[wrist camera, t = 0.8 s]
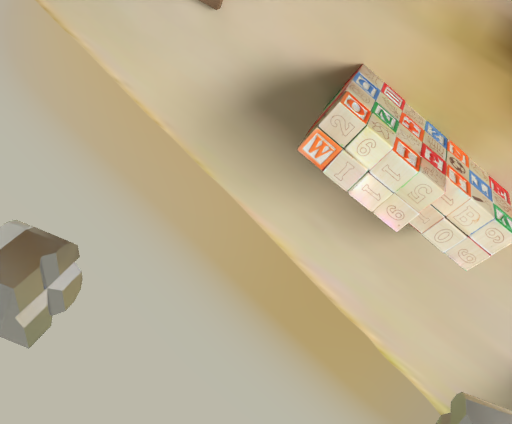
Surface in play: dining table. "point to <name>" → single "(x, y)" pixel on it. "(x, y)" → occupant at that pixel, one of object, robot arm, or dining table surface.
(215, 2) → the walnut coaster
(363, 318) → the dining table surface
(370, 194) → the stack of blocks
